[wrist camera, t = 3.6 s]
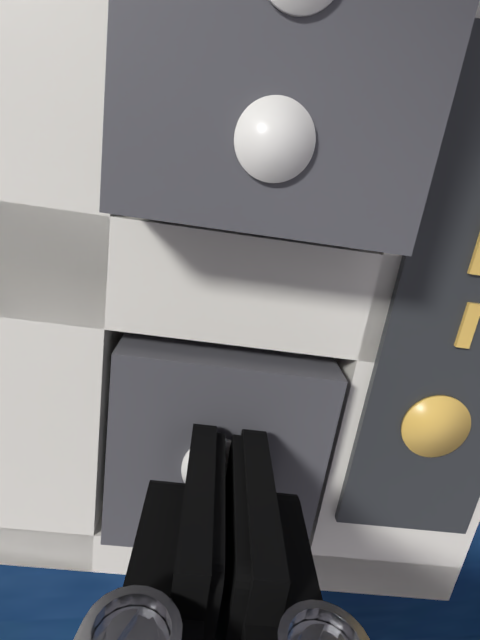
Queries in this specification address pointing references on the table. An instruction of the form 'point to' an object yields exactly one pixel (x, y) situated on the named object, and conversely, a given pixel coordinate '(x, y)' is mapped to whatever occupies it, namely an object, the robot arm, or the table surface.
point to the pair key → (280, 114)
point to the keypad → (228, 328)
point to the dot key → (213, 417)
